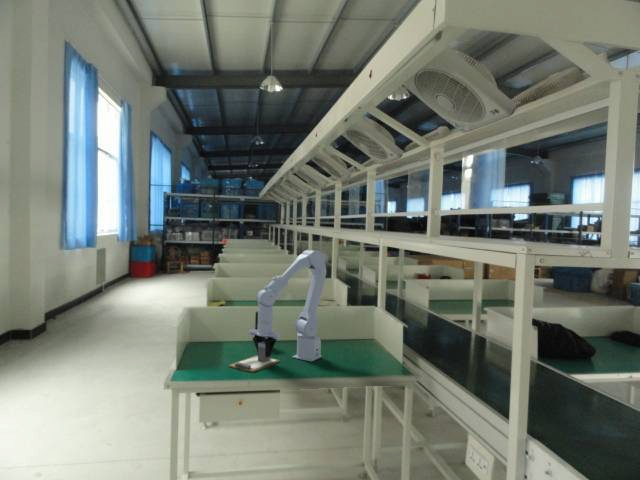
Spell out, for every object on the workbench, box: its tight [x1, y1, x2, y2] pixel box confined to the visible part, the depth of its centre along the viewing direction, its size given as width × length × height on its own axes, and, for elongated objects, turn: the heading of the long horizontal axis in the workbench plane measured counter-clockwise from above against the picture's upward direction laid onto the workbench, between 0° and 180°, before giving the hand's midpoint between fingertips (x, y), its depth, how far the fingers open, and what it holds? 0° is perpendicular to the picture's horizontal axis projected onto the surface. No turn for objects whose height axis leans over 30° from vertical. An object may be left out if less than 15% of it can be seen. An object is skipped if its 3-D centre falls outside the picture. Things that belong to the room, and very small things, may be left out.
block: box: [257, 341, 271, 362], centre depth 160 cm, size 4×4×7 cm
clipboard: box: [228, 354, 281, 373], centre depth 157 cm, size 12×16×2 cm
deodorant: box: [254, 310, 268, 347], centre depth 185 cm, size 6×6×15 cm
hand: (264, 355), depth 160 cm, fingers closed on block, 3 cm apart
